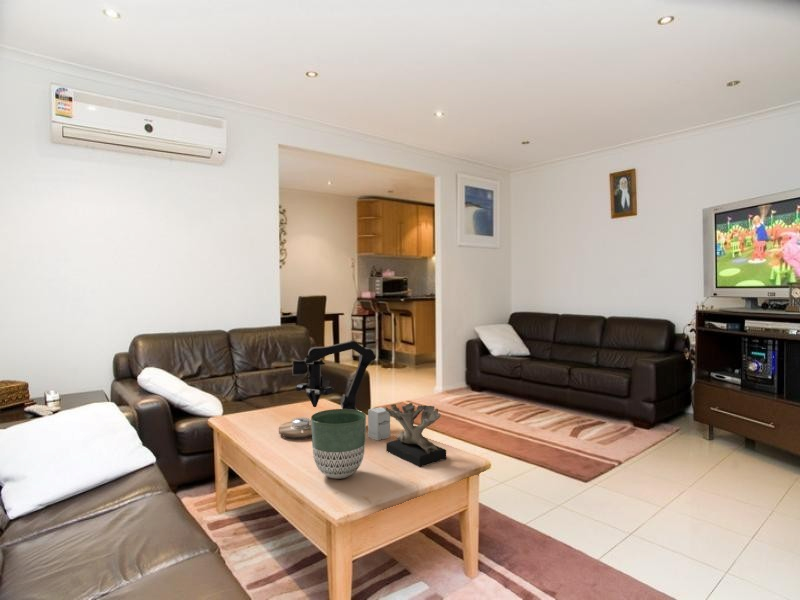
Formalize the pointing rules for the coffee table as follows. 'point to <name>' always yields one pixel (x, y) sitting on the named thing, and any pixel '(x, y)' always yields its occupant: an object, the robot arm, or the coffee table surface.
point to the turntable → (294, 430)
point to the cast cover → (300, 423)
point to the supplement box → (378, 424)
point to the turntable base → (298, 437)
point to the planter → (338, 441)
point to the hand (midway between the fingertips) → (314, 407)
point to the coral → (415, 436)
